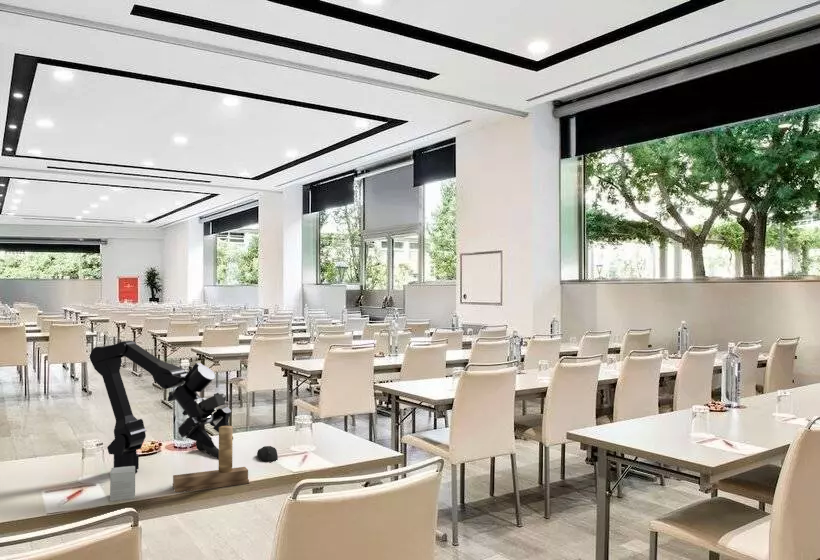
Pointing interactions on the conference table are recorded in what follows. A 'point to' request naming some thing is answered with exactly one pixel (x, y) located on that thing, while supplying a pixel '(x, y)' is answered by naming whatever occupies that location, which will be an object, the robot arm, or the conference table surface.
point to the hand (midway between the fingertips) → (223, 443)
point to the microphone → (208, 449)
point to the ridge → (210, 479)
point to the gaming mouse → (267, 454)
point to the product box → (122, 483)
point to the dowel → (225, 448)
